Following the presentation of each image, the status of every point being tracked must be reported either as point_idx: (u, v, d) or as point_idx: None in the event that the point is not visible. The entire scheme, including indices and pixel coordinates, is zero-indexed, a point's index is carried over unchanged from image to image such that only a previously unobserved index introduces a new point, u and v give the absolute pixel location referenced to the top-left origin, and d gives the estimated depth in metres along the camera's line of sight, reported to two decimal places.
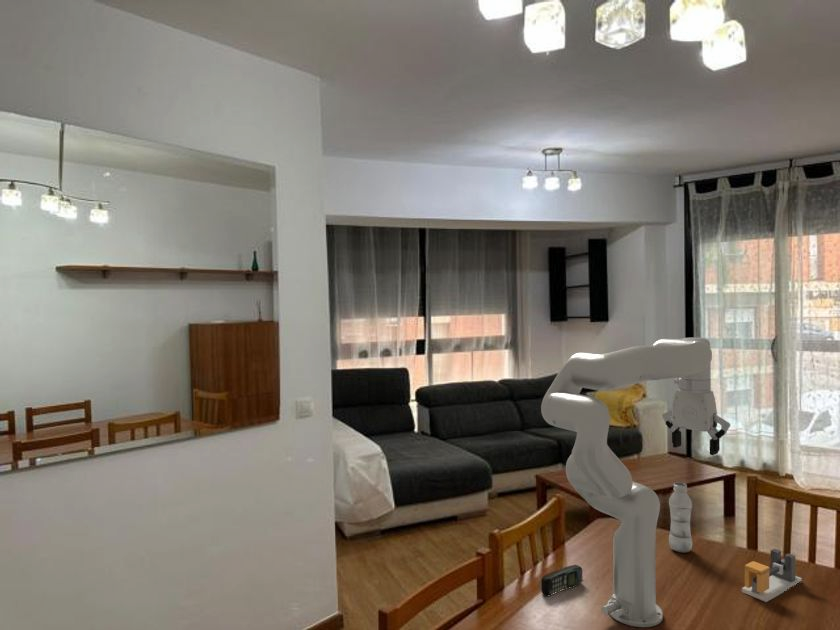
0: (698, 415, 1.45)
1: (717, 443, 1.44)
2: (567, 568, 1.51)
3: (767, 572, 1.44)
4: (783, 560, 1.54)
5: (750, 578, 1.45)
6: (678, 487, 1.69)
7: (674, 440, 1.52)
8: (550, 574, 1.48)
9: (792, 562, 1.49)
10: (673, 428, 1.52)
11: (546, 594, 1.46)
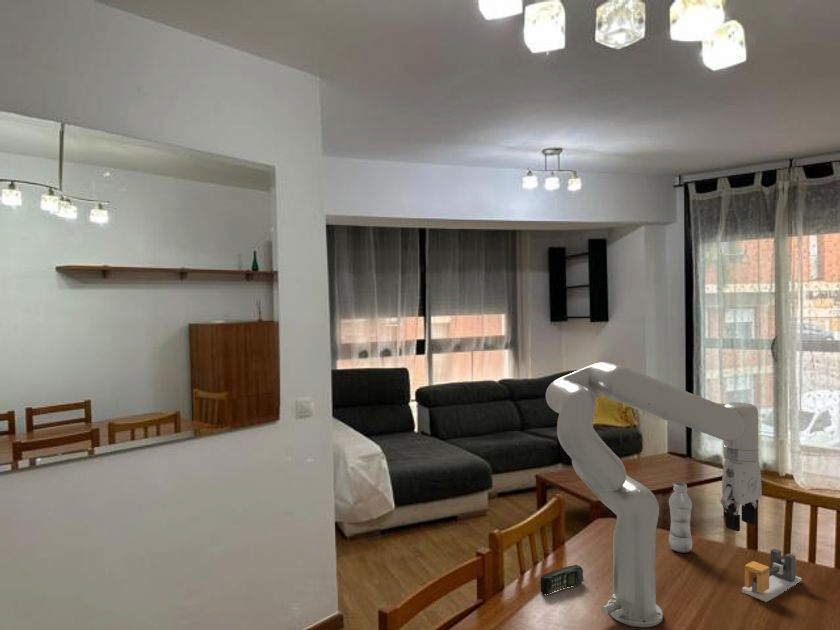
0: (757, 484, 1.39)
1: None
2: (567, 568, 1.51)
3: (767, 572, 1.44)
4: (783, 560, 1.54)
5: (750, 578, 1.45)
6: (678, 487, 1.69)
7: (739, 523, 1.37)
8: (549, 573, 1.49)
9: (792, 562, 1.49)
10: (737, 510, 1.37)
11: (545, 593, 1.46)
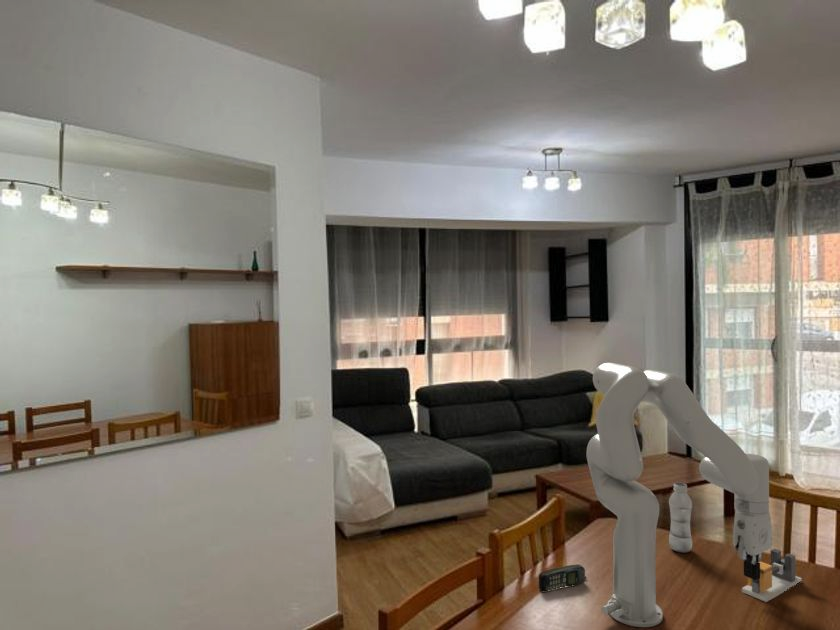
0: (768, 534, 1.42)
1: None
2: (568, 567, 1.52)
3: (769, 570, 1.44)
4: (783, 560, 1.54)
5: None
6: (678, 487, 1.69)
7: (757, 572, 1.42)
8: (548, 571, 1.50)
9: (792, 562, 1.49)
10: (754, 559, 1.41)
11: (542, 590, 1.48)
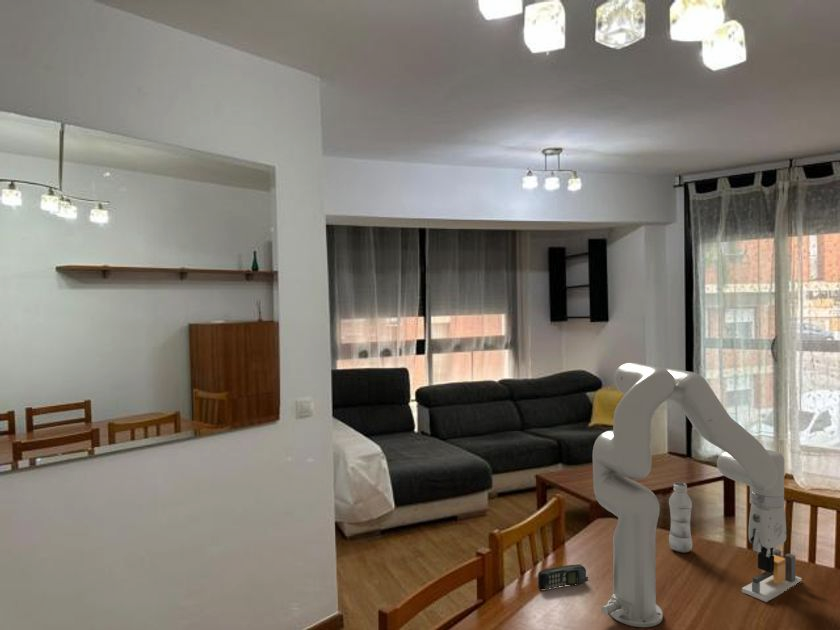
0: (782, 528, 1.46)
1: None
2: (568, 566, 1.52)
3: (783, 563, 1.48)
4: None
5: None
6: (678, 487, 1.69)
7: (771, 564, 1.45)
8: (548, 569, 1.51)
9: (792, 562, 1.49)
10: (769, 552, 1.45)
11: (541, 588, 1.49)
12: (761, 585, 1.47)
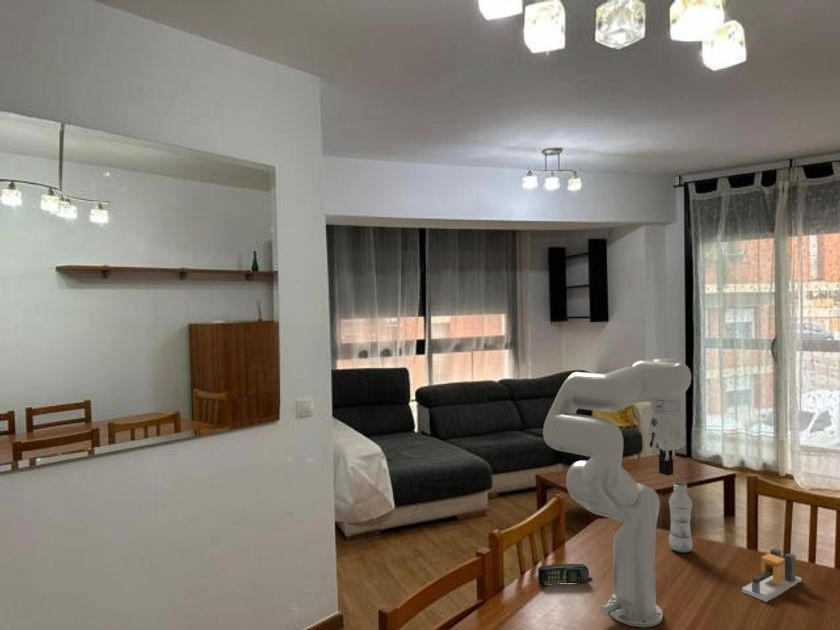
0: (680, 433, 1.50)
1: None
2: (570, 565, 1.53)
3: (782, 563, 1.48)
4: None
5: (766, 570, 1.49)
6: (678, 487, 1.69)
7: (670, 468, 1.50)
8: (548, 566, 1.53)
9: (792, 562, 1.49)
10: (667, 456, 1.50)
11: (540, 583, 1.52)
12: (761, 585, 1.47)
